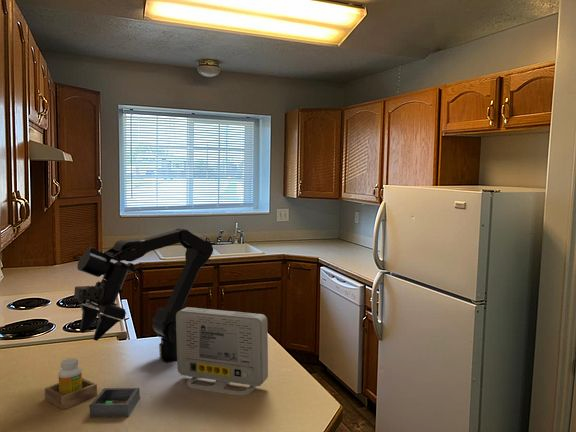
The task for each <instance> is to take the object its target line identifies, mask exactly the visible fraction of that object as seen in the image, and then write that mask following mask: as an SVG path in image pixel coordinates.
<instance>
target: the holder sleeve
mask: <svg viewBox="0 0 576 432" xmlns="http://www.w3.org/2000/svg"><path fill="white" fill-rule="evenodd" d="M97 387H98V385H97V383H94V382H92V381H90V380H88V379H86V378H83V377H82V389H80V390H77V391H74V392H72V393H69V394H67V395H62V394H60V393H59V382H58V383H55V384H52V385H49V386H46V387H43V388H44V390H43V391H44V400H45V401H47V402H49V403H51V404H52V405H55V407H59V408H60V409H62V410H66V409H68V408H70V407H72V406H76V405H78V404H80V403H82V402H84V401H87V400H89V399H92V398H96V397H97V396H98V389H97Z"/></svg>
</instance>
